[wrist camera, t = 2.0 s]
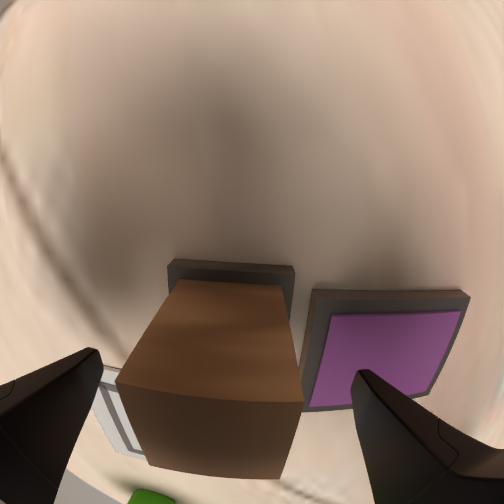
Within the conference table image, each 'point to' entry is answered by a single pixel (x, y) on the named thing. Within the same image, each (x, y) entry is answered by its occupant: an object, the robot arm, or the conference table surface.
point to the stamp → (217, 372)
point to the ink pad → (376, 341)
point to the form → (115, 416)
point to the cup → (149, 498)
